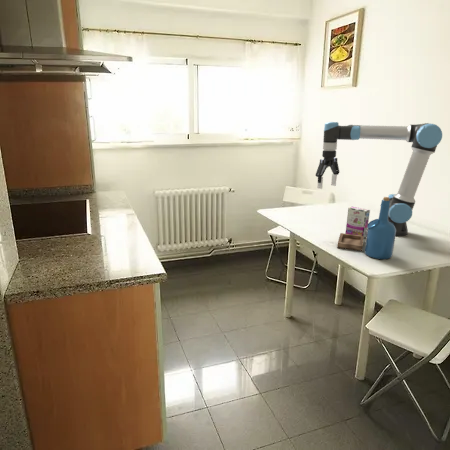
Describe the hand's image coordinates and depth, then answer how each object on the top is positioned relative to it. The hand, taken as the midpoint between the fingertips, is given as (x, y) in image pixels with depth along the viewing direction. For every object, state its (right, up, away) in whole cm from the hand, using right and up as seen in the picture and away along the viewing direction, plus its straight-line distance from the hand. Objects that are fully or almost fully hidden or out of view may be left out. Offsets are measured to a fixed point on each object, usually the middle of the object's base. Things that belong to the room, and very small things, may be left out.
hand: (326, 186), depth 223 cm
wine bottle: (+18, -38, -30) cm, 51 cm away
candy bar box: (+17, -29, -1) cm, 33 cm away
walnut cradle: (+9, -33, -16) cm, 37 cm away
